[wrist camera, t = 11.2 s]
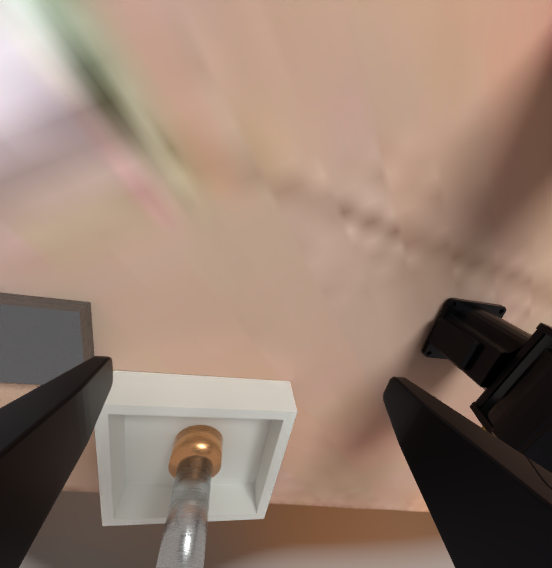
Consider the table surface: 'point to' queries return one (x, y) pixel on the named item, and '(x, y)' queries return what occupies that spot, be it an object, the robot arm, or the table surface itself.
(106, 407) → the bin
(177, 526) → the knob
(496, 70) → the table surface
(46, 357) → the stud plate
